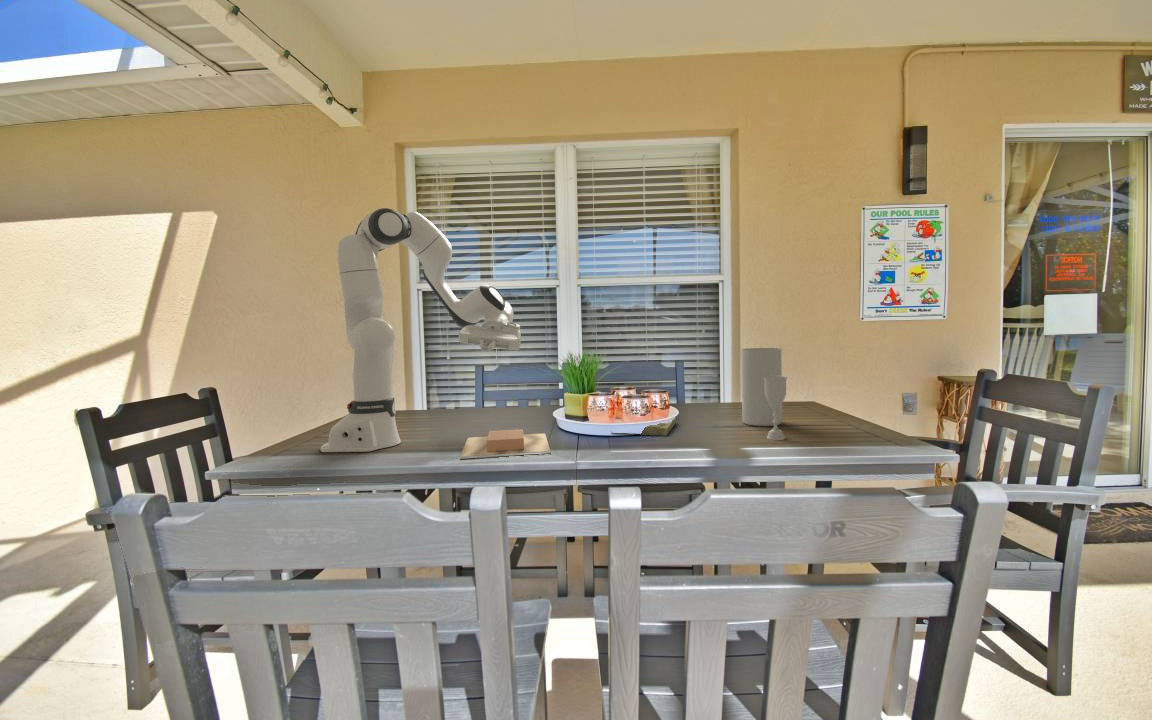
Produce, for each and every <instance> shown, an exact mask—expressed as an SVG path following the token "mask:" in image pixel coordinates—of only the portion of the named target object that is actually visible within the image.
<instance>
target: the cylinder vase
mask: <svg viewBox="0 0 1152 720" xmlns="http://www.w3.org/2000/svg"><path fill="white" fill-rule="evenodd" d="M782 370H783V369H782V348H779V347H754V348H752V347H751V348H741V415H742V416H741V417H742V419H741V420H742V422H743V424H745V425H748V426H754V427H774V423H773V422H772V421H773V420H774V416H773V414H774V409H773V408H772V407H770V405H769V403H768V401H767V398H766V395H765V380H764V378H763V376H769V375H780V376H783V375H782V373H783V372H782ZM777 413H778V417H777V420H778V421H779V422H778V424H777V426H780V425H781V424H782V422H783V404H782V405H781V407H780V408H778V409H777Z"/></svg>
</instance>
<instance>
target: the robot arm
mask: <svg viewBox="0 0 1152 720" xmlns="http://www.w3.org/2000/svg"><path fill="white" fill-rule="evenodd" d="M398 243H399V244H402V245H404V246H405V247H407V248H409V250H410V251H411V252H412V253H413V254H414V255H415V256H416V257H417V259H418V260H419V262H420V263H421V266H422V267H423V268H422V275H423V278H424V279H425V281H426V283H427V284H428V286H429V287H430V288H431V290H432V291H433V293H434V294H435V295H436V296H437V298H438V300H439V301H440V303H442V305H443V306H444V307H445V309H446V310H447V312H448V314H449V315H450V317H451V319H452V321H453V322H454V324H455V325H456V326H457V327H460V328H461V329H460V330H459V332H458V342H459V343H460V344H465V345H473V346H479V347H480V352H488V353H490V352H491V351H492V350H494V349H501V350H510V351H519V350H520V348H521V342H522V341H521V339H522V338H521V337H522V333H521V326H520V324H518V323H515V322H514V321H513V320H514V315H515V314H514V310H513V307H512V306H511V304H510V303H509V302H508V301H506V300H505V299H504V297H503V294H501V293H500V291H499V290H498V289H497V288H496V287H493V286H491V285H489V284H480V285H479V286H478V287H475V288H474V289H473V290H472V291H471V292H470V293H468V294H467V295H465V296H464V297H463V298H461V299H460V298H457V296H456V295H455V293H453V291H452V289H451V287H449V285H448V284H447V283H446V280H445V273H446V270H447V268H448V266H449V265H450V262H451V260H452V258H453V257H452V256H453V248H452V247H453V246H452V244H451V243H450V241H449V240H448V239H447V237H446V236H445V234H443V233H442V232H441V231H440V230H439V228H437V227H436V226H435V224H433V223H432V222H431V221H430V220H429V219H427V218H426V217H425V216H424V215H422V214H421V213H419V212H417V211H409V212H407V213H405V214H404V213H402V212H398V211H397V210H394V209H393V208H388V207H387V208H385V207H382V208H377V209H376V210H374V211H373V212H370V213H369V214H367V215H366V216H365V217H364V218H363V220H361V221H360V223H359V224H358V226H357V229H356V231H355V234H349V235H345V236H343V237H342V238H340V240H339V241H338V243H337V244H338V245H337V261H338V272H339V277H340V284H341V289H342V296H343V301H344V303H343V304H344V318H345V320H344V321H345V328H346V329H345V330H346V336H347V342H348V344H349V346H350V347H351V348H352V350H354V356H353V357H354V358H353V360H354V361H353V370H352V371H353V372H352V382H353V383H352V384H353V397H354V398H353V400H351V401H350V402H349V403H347V404H346V406H347V407H346V409H347V411H348V413H347V414H346V415H345V416H344V417H342V418H341V419H340V420H339V421H338V422H337V423H335V424H334V425H333V426H332V427H331V428H330V430H329V435H328V442H326V443H324V444H323V445H322V446H320V452H322V453H352V452H354V453H356V452H358V453H359V452H360V453H362V452H366V453H367V452H372V451H373V452H374V451H376V450H379V449H380V450H381V449H385V448H390V447H393V446H397V445H398V444H400V443H402V440H401V438H400V434H399V431H398V426H397V423H396V422H397V421H396V417H395V416H396V414H397V413H396V401H395V397H394V396H393V394H394V393H393V392H394V391H393V374H392V373H393V361H394V345H395V340H396V339H395V338H396V336H395V334H396V333H395V330H394V328H393V327H392V326H391V325H390V323H389V322H388V321H386V320H385V319H384V313H383V312H384V311H383V305H384V303H383V301H384V294H383V289H382V288H383V287H382V281H381V280H382V279H381V276H380V269H379V268H380V267H379V264H378V254H379V252H381V251H383V250H386V249H389V248H392V247H393V246H395V245H397V244H398ZM483 319H484V321H483V323H482V325H481V326H480V325H477V324H478V323H479V322H480V321H481V320H483Z"/></svg>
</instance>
